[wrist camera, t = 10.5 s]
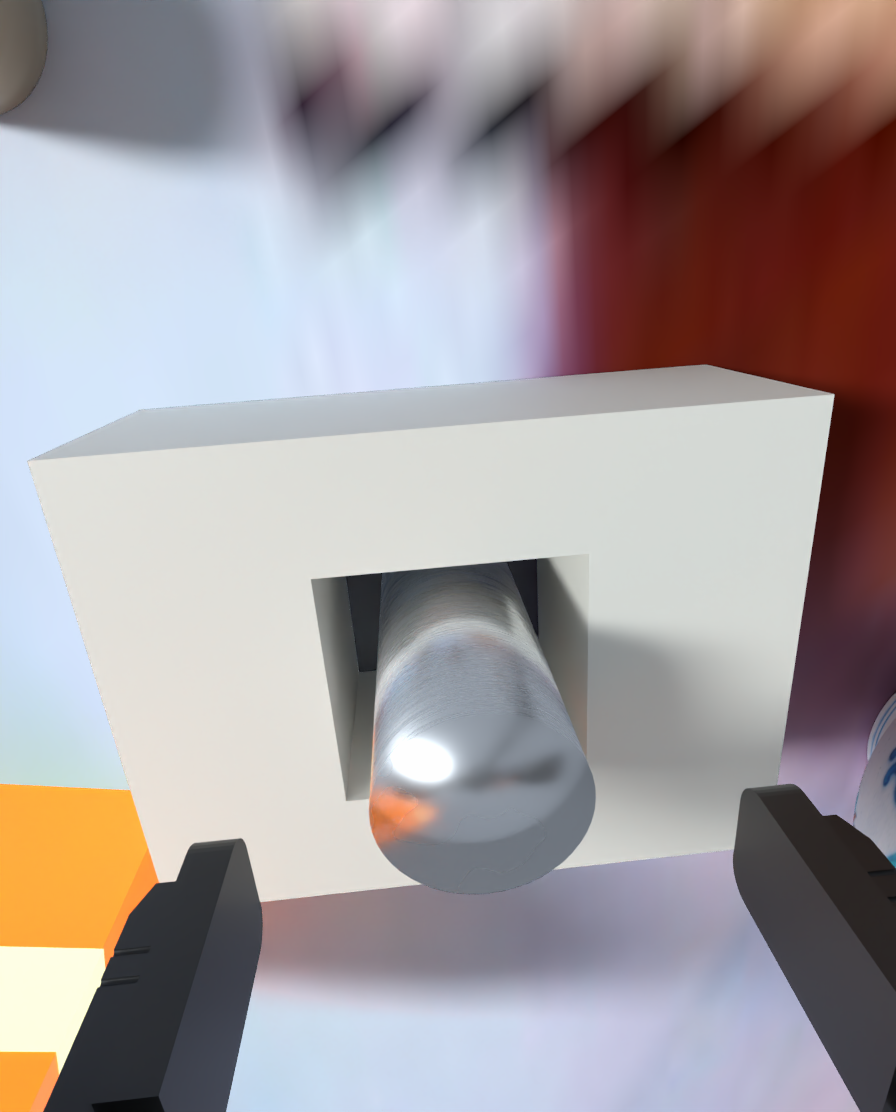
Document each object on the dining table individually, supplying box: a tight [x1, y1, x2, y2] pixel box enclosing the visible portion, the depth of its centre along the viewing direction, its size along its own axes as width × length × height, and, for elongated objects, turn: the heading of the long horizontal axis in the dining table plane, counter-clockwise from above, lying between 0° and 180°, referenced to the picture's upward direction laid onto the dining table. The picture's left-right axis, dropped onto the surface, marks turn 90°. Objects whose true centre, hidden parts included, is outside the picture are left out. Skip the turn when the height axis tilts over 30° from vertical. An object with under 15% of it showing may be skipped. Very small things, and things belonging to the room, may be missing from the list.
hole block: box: [27, 365, 835, 902], centre depth 18 cm, size 16×12×6 cm
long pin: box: [369, 561, 596, 894], centre depth 16 cm, size 4×4×10 cm
